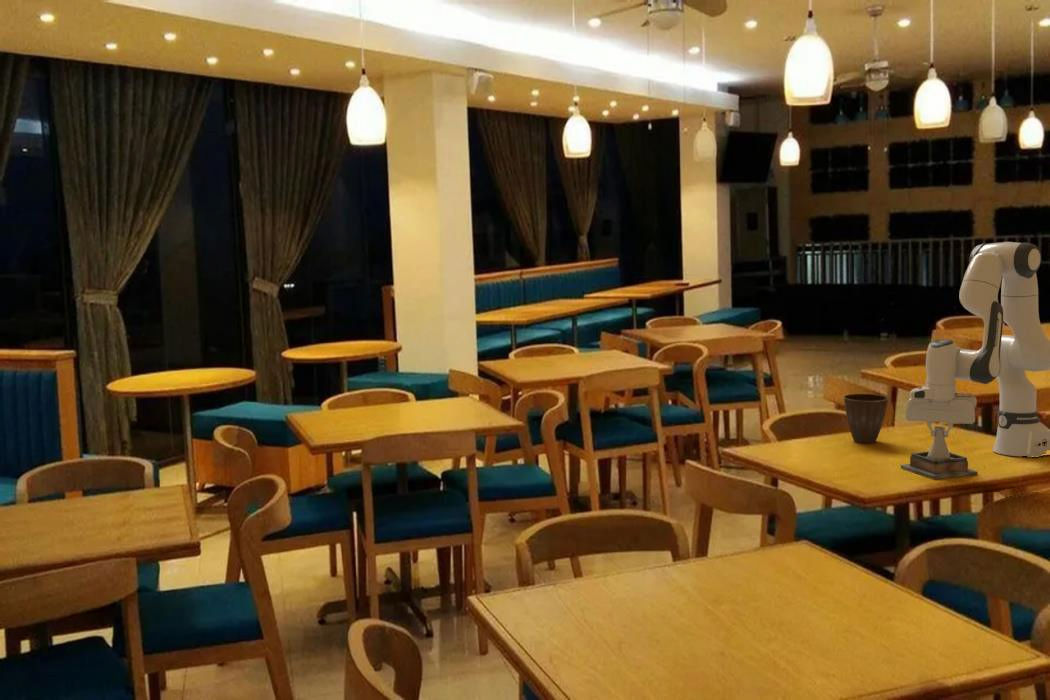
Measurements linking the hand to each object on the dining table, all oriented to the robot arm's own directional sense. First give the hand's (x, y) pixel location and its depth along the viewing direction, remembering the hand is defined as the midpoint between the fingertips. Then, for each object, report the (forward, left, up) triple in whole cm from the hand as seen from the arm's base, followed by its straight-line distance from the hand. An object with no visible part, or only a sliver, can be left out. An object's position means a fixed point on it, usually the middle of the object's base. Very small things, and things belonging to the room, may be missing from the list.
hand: (939, 436), depth 328 cm
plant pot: (-5, -46, -11) cm, 48 cm away
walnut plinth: (0, 0, -11) cm, 11 cm away
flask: (0, 0, -7) cm, 7 cm away
